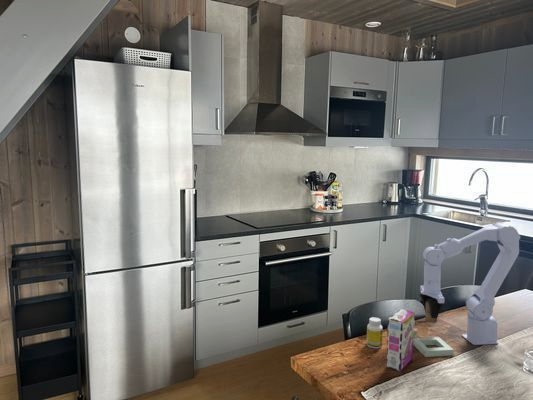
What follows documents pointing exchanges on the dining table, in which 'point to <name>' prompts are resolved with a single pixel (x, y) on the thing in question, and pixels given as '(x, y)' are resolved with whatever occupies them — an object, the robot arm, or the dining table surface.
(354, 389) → the dining table surface
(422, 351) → the hole board
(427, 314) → the brown wooden peg
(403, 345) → the candy bar box
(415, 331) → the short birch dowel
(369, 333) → the supplement bottle
